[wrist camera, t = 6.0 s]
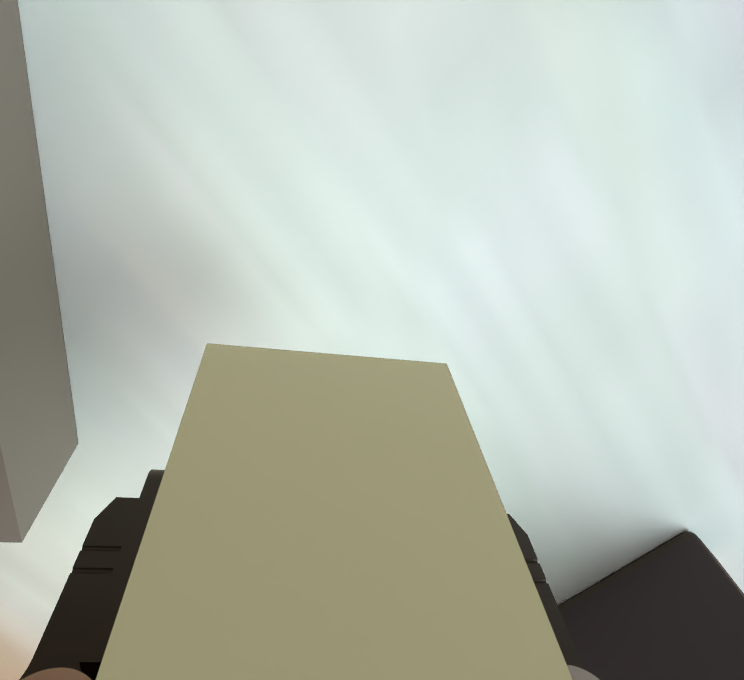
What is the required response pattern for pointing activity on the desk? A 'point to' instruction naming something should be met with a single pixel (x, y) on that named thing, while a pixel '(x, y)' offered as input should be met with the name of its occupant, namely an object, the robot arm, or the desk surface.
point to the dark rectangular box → (661, 618)
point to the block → (328, 534)
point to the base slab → (27, 309)
